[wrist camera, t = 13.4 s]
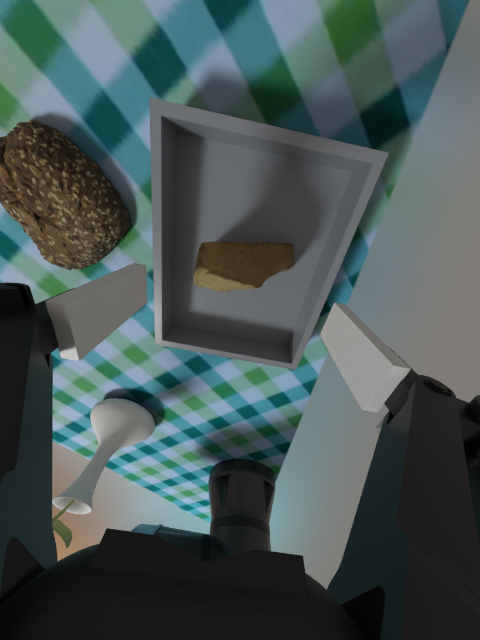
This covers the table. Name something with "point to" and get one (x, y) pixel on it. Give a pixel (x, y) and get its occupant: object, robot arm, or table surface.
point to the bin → (249, 227)
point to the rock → (240, 264)
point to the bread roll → (59, 196)
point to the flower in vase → (103, 453)
